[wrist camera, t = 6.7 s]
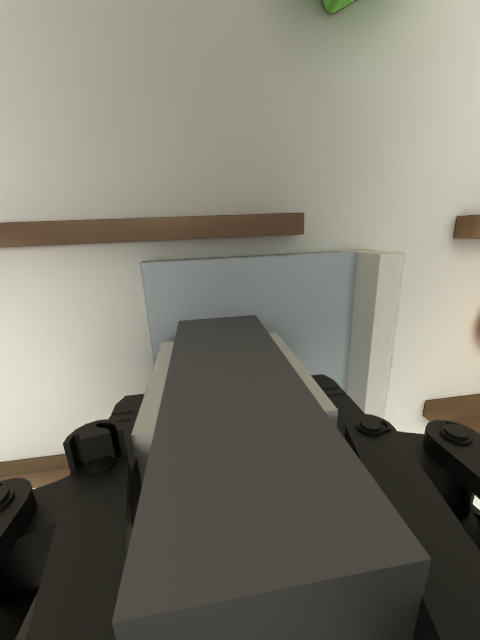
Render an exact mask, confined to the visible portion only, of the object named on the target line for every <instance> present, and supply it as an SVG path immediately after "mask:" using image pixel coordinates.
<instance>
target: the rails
mask: <svg viewBox="0 0 480 640" xmlns="http://www.w3.org/2000/svg"><path fill="white" fill-rule="evenodd" d="M298 234H304V213H278V214H248V215H218V216H188V217H158V218H128V219H98V220H68V221H38V222H8V223H0V247H18V246H42V245H65V244H88V243H111V242H135V241H158V240H181V239H204V238H228V237H251V236H274V235H298ZM69 475H70V468H69V465H68V461H67V457H66V454H64V455H56V456H49V457H41V458H33V459H25V460H17V461H10V462H2V463H0V481H2V480H7V479H11V478H25V479H27V480H28V481H30V483H31V486H32V488H37V487H41V486H44V485H47V484H50V483H52V482H55V481H58V480H60V479H63V478H65V477H67V476H69Z"/></svg>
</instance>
